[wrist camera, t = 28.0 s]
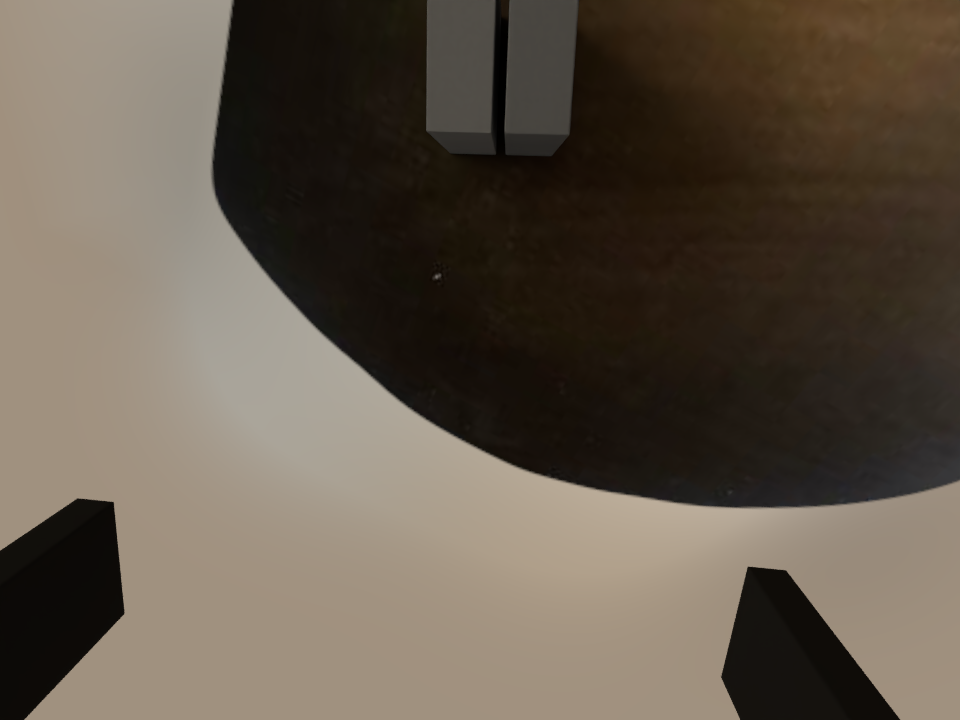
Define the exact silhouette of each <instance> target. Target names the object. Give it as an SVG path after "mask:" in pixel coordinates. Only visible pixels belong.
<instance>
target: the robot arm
mask: <svg viewBox="0 0 960 720" xmlns="http://www.w3.org/2000/svg"><path fill="white" fill-rule="evenodd" d="M117 543H118V542H117V533H116V522H115V512H114V502H107V501H98V500H88V499H76V500H75V501H73V502H72V503H70V504H69V505H67V506H66V507H64V508H63V509H61V510H60V511H58V512H57V513H55V514H54V515H53V516H51V517H49V518H48V519H47V520H45V521H44V522H42V523H41V524H39V525H38V526H36V527H35V528H33V529H32V530H30V531H29V532H28V533H26V534H24V535H23V536H22V537H20V538H18V539H17V540H15V541H14V542H12V543H11V544H9V545H8V546H7V547H5V548H4V549H2V550H1V551H0V720H24V719H25V718H26V717H27V716H28V715H29V714H30V713H31V712H32V711H33V710H34V709H35V708H36V707H37V705H38V704H39V703H40V702H41V701H42V700H43V699H44V698H45V697H46V696H47V695H48V694H49V693H50V691H52V690H53V689H54V688H55V687H56V685H57V684H58V683H59V682H60V681H61V680H62V679H63V678H64V677H65V676H66V675H67V674H68V673H69V672H70V671H71V670H72V669H73V668H74V666H75V665H76V664H77V663H78V662H79V661H80V660H81V659H82V658H83V657H84V656H85V655H86V654H87V653H88V652H89V650H90V649H91V648H92V647H93V646H94V645H95V644H96V643H97V642H98V641H99V640H100V639H101V638H102V637H103V636H104V635H105V634H106V633H107V632H108V630H109V629H110V628H111V627H112V626H113V625H114V624H115V623H116V622H117V621H118V620H119V619H120V618H121V617H122V616H123V615H124V603H123V593H122V583H121V573H120V562H119V553H118V544H117ZM721 678H722V680H723V682H724V685H725V687H726V689H727V691H728V693H729V695H730V698H731V700H732V702H733V704H734V706H735V709H736V711H737V713H738V715H739V718H740V720H900V719H899V718H898V716H897V715H896V714H895V712H894V711H893V710H892V708H891V707H890V706H889V705H888V703H887V702H886V701H885V699H884V698H883V697H882V695H881V694H880V693H879V692H878V690H877V689H876V688H875V686H874V685H873V684H872V682H871V681H870V680H869V678H868V677H867V676H866V674H864V672H863V671H862V669H861V668H860V667H859V666H858V664H857V663H856V661H855V660H854V659H853V658H852V656H851V655H850V654H849V652H848V651H847V650H846V649H845V647H844V646H843V644H842V643H841V642H840V640H839V639H838V638H837V637H836V635H835V634H834V633H833V631H832V630H831V629H830V627H829V626H828V625H827V624H826V622H825V621H824V620H823V618H822V617H821V616H820V614H819V613H818V612H817V610H816V609H815V608H814V607H813V605H812V604H811V603H810V601H809V600H808V599H807V597H806V596H805V595H804V593H803V592H802V591H801V589H800V588H799V587H798V585H797V584H796V583H795V582H794V580H793V579H792V578H791V576H790V575H789V574H788V573H787V571H785V570H776V569H766V568H756V567H748V568H747V572H746V577H745V581H744V585H743V589H742V593H741V597H740V602H739V606H738V610H737V614H736V618H735V622H734V627H733V631H732V635H731V639H730V643H729V647H728V652H727V655H726V660H725V664H724V668H723V672H722V676H721Z"/></svg>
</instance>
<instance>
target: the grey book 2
mask: <svg viewBox="0 0 960 720" xmlns="http://www.w3.org/2000/svg"><path fill="white" fill-rule="evenodd" d="M578 6H579V0H510V2H509V27H508V52H507V78H506V103H505V128H504V134H505V152H506V155H524V156H552V155H553V154H554V153H555V151H556V150H557V149H558V148H559V147H560V145H561V144H562V143H563V142H564V141H565V139H566V138H567V137H568V136H569V134H570V124H571V109H572V95H573V80H574V65H575V50H576V36H577V21H578Z"/></svg>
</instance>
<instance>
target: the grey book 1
mask: <svg viewBox="0 0 960 720" xmlns="http://www.w3.org/2000/svg"><path fill="white" fill-rule="evenodd" d="M500 38H501V0H427V118H426V130H427V132H428V133H429V134H430V135H431V136H432V137H433V138H435V139H436V140H437V141H438V142H439V143H440V144H441V145H442V146H443V147H444V148H445V149H446V150H447V151H448V152H450V153H453V154H488V155H496V148H497V120H498V93H499V65H500Z"/></svg>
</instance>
